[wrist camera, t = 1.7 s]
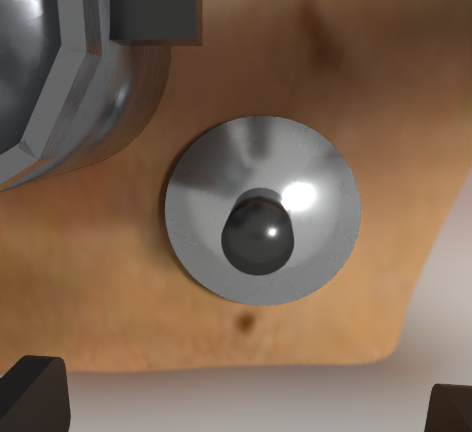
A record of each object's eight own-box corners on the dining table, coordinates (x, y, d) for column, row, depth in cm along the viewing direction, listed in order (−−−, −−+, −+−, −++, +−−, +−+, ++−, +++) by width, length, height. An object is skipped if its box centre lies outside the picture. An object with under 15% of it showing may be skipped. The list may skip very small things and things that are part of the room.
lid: (368, 119, 23) (399, 120, 17) (347, 304, 26) (368, 358, 20) (167, 112, 24) (134, 111, 18) (169, 292, 27) (141, 340, 21)
